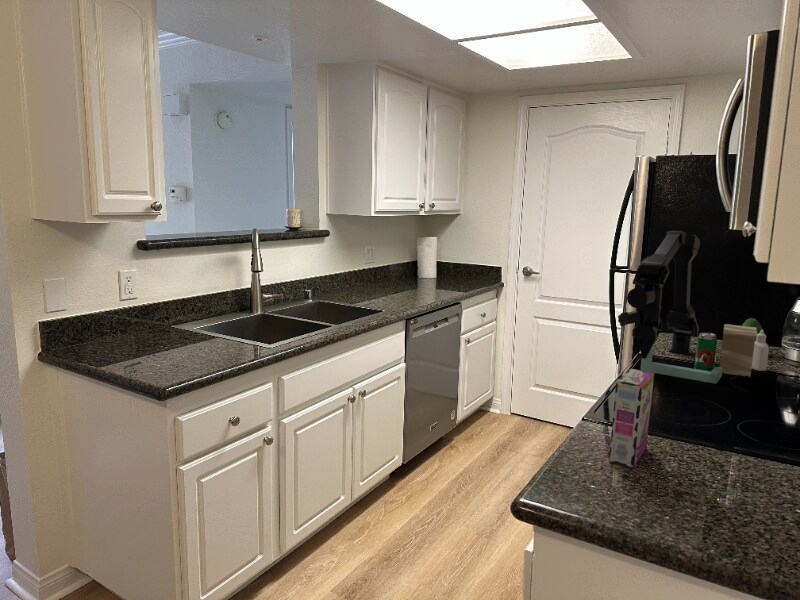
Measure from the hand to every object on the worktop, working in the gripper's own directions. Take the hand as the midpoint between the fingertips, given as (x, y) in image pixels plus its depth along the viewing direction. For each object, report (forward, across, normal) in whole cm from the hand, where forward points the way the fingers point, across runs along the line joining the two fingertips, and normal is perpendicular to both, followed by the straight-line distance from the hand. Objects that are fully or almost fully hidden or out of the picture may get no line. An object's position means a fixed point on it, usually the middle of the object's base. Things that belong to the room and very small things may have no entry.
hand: (645, 355), depth 173 cm
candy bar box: (+5, +65, +6) cm, 66 cm away
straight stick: (+5, -18, +15) cm, 24 cm away
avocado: (+5, -40, +27) cm, 48 cm away
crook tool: (+5, -2, +10) cm, 11 cm away
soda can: (+5, -4, +16) cm, 17 cm away
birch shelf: (+4, -6, +23) cm, 25 cm away
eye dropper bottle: (+5, -20, +29) cm, 36 cm away
